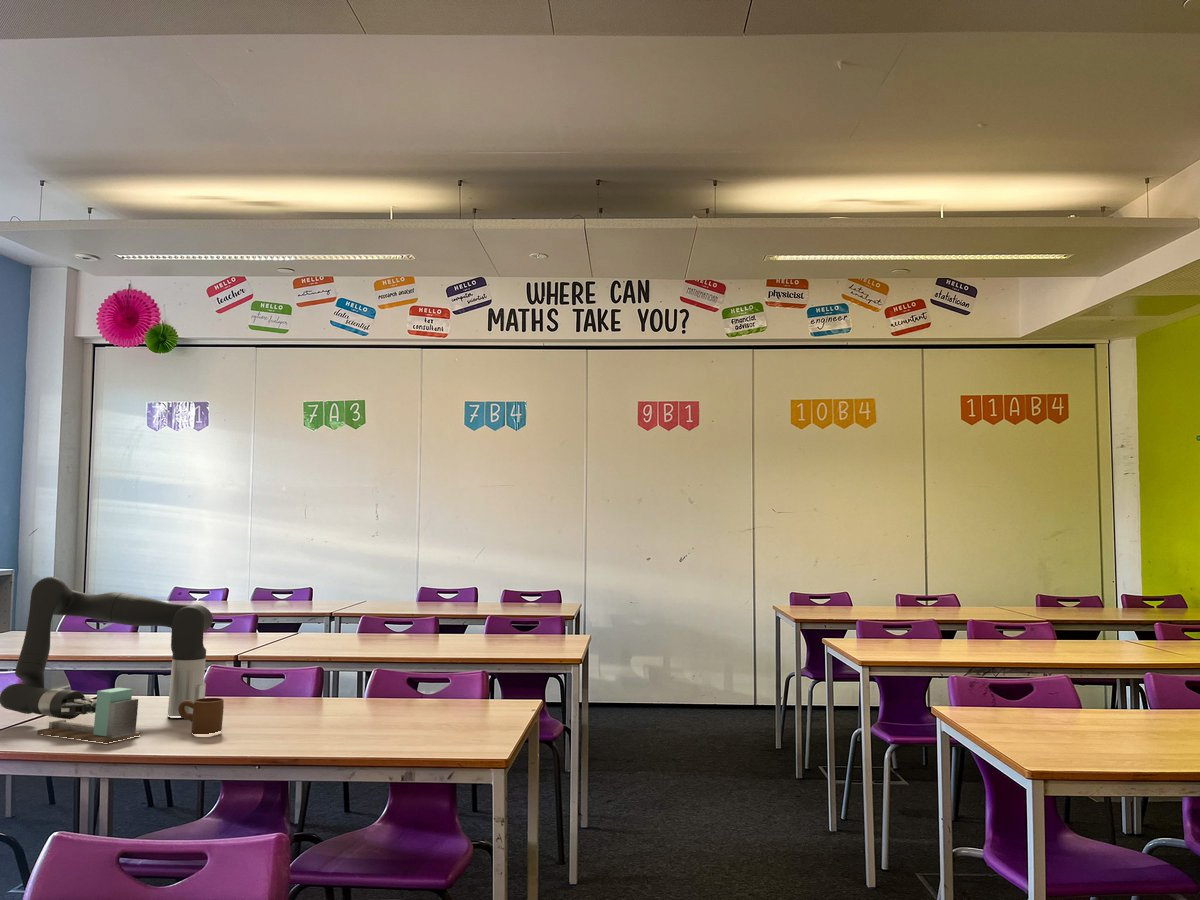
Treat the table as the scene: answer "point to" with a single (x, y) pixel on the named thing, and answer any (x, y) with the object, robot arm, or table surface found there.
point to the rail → (110, 720)
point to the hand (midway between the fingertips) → (106, 709)
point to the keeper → (107, 707)
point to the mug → (204, 714)
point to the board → (81, 735)
